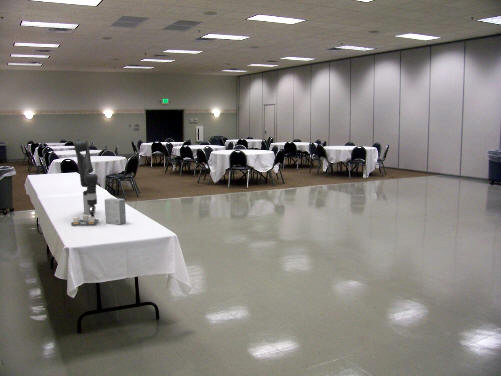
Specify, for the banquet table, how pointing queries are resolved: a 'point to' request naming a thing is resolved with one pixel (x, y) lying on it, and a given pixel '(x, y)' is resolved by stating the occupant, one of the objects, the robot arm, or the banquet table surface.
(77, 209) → the banquet table surface
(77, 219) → the tab
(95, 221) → the switch bank
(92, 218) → the tab
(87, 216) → the tab
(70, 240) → the banquet table surface
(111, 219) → the hard drive box
